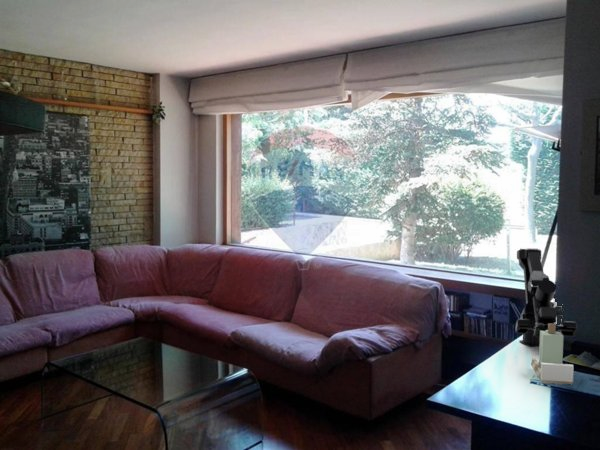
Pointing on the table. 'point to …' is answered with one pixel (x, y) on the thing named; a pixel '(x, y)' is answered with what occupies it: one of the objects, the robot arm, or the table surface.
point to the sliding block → (551, 346)
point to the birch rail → (538, 372)
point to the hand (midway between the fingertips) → (549, 350)
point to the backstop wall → (557, 372)
